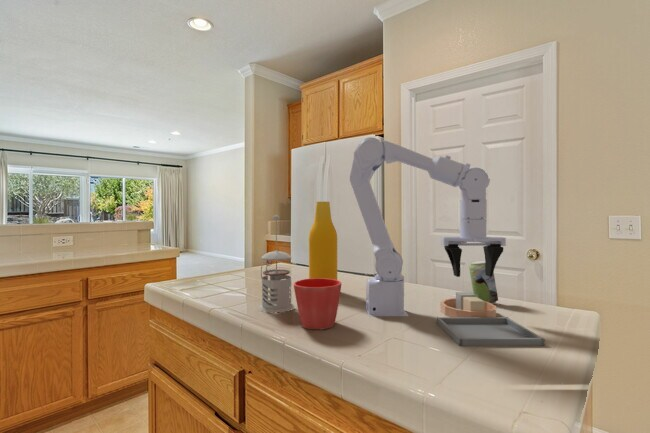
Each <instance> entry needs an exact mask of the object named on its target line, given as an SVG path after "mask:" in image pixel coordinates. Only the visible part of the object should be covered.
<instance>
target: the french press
mask: <svg viewBox="0 0 650 433" xmlns="http://www.w3.org/2000/svg"><path fill="white" fill-rule="evenodd" d="M280 217H281V216H279V215H278V214H275V215H272V220H275V250H273V251H269V252H266V253H264V254H263V255H262V256H261V257H260V258H261V259H262V260H263V262H262V264H261V267H260V278H261V283H262V285H261V288H262V290H261V293H262V294H261V298H262V299H261V304H260V305H259V306H258V308H259V309H260V310H261V311H265V312H273V313H272V314H276V313H275V312H283V313H285V312H284V311H288V312H290V311H289V310H291V309H293V308H294V306H295V305H294V304H293V303H292V276H290V275H289V274H290V273H291V271H290V270H287V269H278V262H279V261H288V260H291V259H292V255H290V254H288V253H287V252H285V251H279V250H278V237H277V236H278V232H277V231H278V229H277V228H278V226H277V225H278V220H280V219H281V218H280ZM267 261H268V262H267ZM273 261H274V262H275V269H268V267H271V265H272V263H273ZM269 263H270V264H269ZM264 264H265V265H266V267H265V270H264V271H263V266H264ZM262 271H263V272H262ZM263 275H265V276H263ZM269 276H270V278H269ZM269 289H270V290H269ZM294 309H295V308H294ZM294 309H293V310H294ZM260 310H259V311H260ZM261 311H260V312H261ZM291 311H292V310H291ZM265 312H264V313H265Z"/></svg>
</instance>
